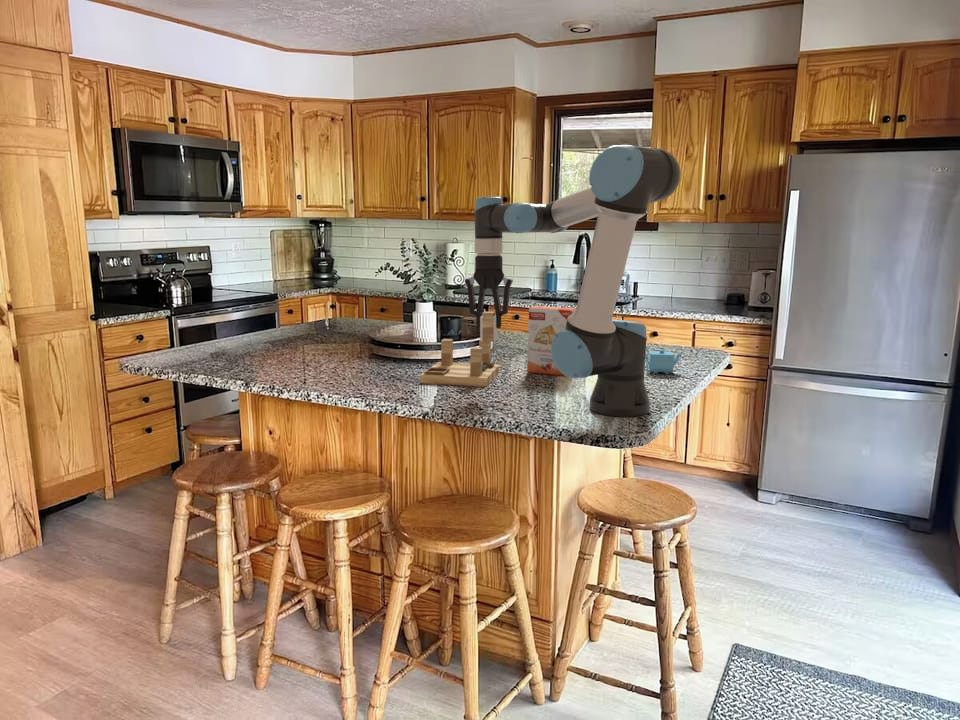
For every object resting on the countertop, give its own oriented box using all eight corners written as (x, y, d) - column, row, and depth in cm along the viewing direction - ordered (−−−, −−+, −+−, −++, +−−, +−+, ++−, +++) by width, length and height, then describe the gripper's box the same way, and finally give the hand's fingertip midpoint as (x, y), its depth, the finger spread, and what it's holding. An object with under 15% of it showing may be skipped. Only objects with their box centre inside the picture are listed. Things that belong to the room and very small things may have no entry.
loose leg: (493, 341, 198) (493, 312, 197) (482, 341, 199) (482, 312, 197) (495, 340, 201) (495, 311, 199) (484, 339, 201) (484, 311, 200)
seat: (486, 386, 207) (487, 351, 205) (420, 383, 211) (420, 348, 209) (499, 372, 226) (499, 339, 224) (438, 369, 230) (438, 337, 228)
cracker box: (526, 373, 226) (528, 307, 222) (532, 369, 231) (533, 305, 227) (569, 376, 221) (571, 309, 216) (574, 373, 226) (576, 307, 222)
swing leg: (483, 371, 213) (483, 345, 212) (473, 371, 214) (473, 344, 212) (490, 364, 224) (490, 339, 222) (481, 364, 224) (481, 339, 223)
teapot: (682, 371, 229) (683, 348, 228) (683, 375, 224) (685, 352, 222) (643, 370, 232) (645, 347, 230) (644, 374, 226) (645, 350, 224)
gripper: (519, 254, 198) (519, 338, 202) (463, 254, 201) (464, 336, 205) (515, 255, 190) (515, 342, 195) (456, 255, 194) (457, 340, 198)
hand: (489, 339), depth 200 cm, fingers closed on loose leg, 3 cm apart
